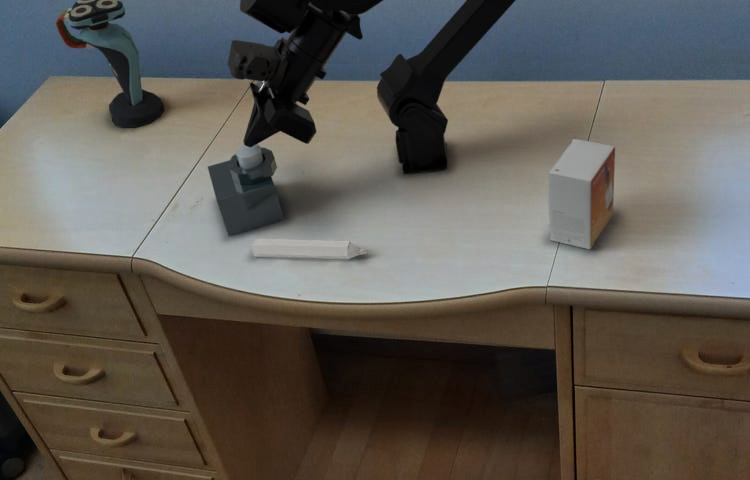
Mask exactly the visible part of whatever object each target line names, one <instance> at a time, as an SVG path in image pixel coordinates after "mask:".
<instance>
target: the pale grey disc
mask: <svg viewBox="0 0 750 480" xmlns="http://www.w3.org/2000/svg"><path fill="white" fill-rule="evenodd" d="M260 147H261V146H260V145H259V143H258V144H256V145H255V146H253V147H251V148H250V147H247V146H245V145H244V144H242V145H241V146H239V147H238V148H237V149H236V150H235V154H236V156H237V159H238V162H239V166H240V167H241V168H242V169H251V168H255V167H258V166H259V165H261V164H262V163H263V161H264V159H263V155H262V152H261V148H260Z"/></svg>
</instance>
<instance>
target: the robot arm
mask: <svg viewBox="0 0 750 480" xmlns="http://www.w3.org/2000/svg"><path fill="white" fill-rule="evenodd" d="M383 1H384V0H240V2H239V10H240V12H241V13H243V14H245V15H247V17H250V18H252V19H254V20H255V21H257V22H259V23H261V24H262V25H264V26H266V27H268V28H270V29H272V30H273V31H275V32H277V33H279V34H285V33H287V34H290V35H289V36H288V38H287V39H286V38H284V37H281V38H278V39H277V41H276V42H275V44H274V45H273V46H270V45H266V44H263V43H260V42H259V43H258V42H252V41H245V40H239V39H234V40H232V41H231V44H230V48H229V55H228V60H227V67H228V68H229V70H230V71H229V72H230V75H231V77H232V78H235V79H237V80H245V79H246V80H248V81H249V80H250V81H257V82H256V83H253V82H249V88H250V90H251V91H250V92H251V94H252V98H253V106H252V110H251V113H250V117H249V120H248V124H247V127H246V130H245V134H244V136H243V137H244V138H243V145H245V146H247V147H250V148H251V147H253V146H255V145H256V144H258V145H259V144H260V143H262V142H264V141H265V140H267V139H269V138H271V137H273V136H274V135H276V134H278V133H280V132H281V133H283V134H285V135H287V136H289V137H291V138H294V139H296V140H297V141H299V142H301V143H303V144H306V145H307V144H308V145H309V144H310V142H311V141H312V140H313V138H314V137H315V135H316V134H317V128H316V123H315V121H314V119H313V116H312V114H311V112H310V110H308V109H306V108H304V107H303V106H301V105H299V104H298V103H300V104H302V105H304V106H306V105H307V104H308V102H309V101H310V97H309V95H308V92H309V90H310V89H311V87H312V86H313V84H314V83H315V81H316V80H317V79H320V80H323V79H324V78H325V76H326V75H327V71H326V69H325V68H324V67H325V66H326V64H327V63H328V61H330V58H331V57H332V55H333V54H334V52H335V51H336V49H337V48H338V47H339V45H340V43H341V42H342V40H343V38H344V37H345V35H346V34H348V35H350V36H352V37H353V38H354V39H357V40H359V41H360V40H362V39H363V37H364V35H363V32H362V27H361V17H360V16H359V15H363V14H365V13H367V12H368V11H370V10H372V9H374V7H376V6H377V5H379V4H380V3H382V2H383ZM516 1H517V0H466V1H465V2H463V4H462V5H461V6H460V7H459V8H458V9H457V10H456V12H455V13H454V14H453V15H452V16H451V17H450V18H449V20H448V21H447V22H446V23H445V24H444V25H443V26H442V28H440V30H439V31H438V32H437V33H436V34H435V35H434V37H433V38H432V39H431V40H430V41H429V43H428V44H427V45H426V46H425V47H424V49H422V50H421V51H420V52H419V53H418V54H416V55H414V56H411V57H408V58H407V59H406V58H405V56H404V55H403V54H402V53H399V54H397V55H396V56H395V58H394V59H393V60H392V62H391V63H390V65H389V66H388V67H387V68H386V69H385V70H384V71H382V72H381V73H379V76H380V77H381V79H380V80H379V82H378V83H377V86H376V96H377V99H378V102H379V104H380V105H381V107H382V109H383V110H384V112H385V113H386V116H387V117H388V118H389V120H390V122H391V124H393V126H395V127H397V130H395V139H394V140H395V145H396V153H397V159H398V163H399V164H400V165H402V166H401V167H402V169H401V170H402V173H403V174H404V175H406V174H407V175H409V174H417V173H427V172H435V171H436V172H437V171H445V170H448V168H449V161H448V143H447V142H446V136H445V133H446V131H447V126H448V123H449V119H448V118H447V117H446V115H445V114H444V112H443V110H442V109H441V108H440V106H439V105H438V102H439V98H440V96H441V93H442V91H443V87H444V84H445V82H446V80H447V78H448V77H449V76H450V74H452V72H453V71H454V70H455V69H456V68H457V67H458V66H459V64H460V63H462V61H463V60H464V59H465V58H466V57H467V55H468V54H469V53H470V52H471V51H472V50H473V49H474V48H475V46H477V44H478V43H480V41H481V40H482V39H483V37H484V36H486V35H487V34H488V32H489V31H490V30H491V29H492V28H493V27H494V26H495V24H496V23H497V22H498V21H499V20H500V19H501V18H502V17H503V16H504V14H505V13H506V12H507V11H508V9H510V8H511V6H512V5H514V3H515V2H516ZM297 102H298V103H297Z"/></svg>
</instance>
